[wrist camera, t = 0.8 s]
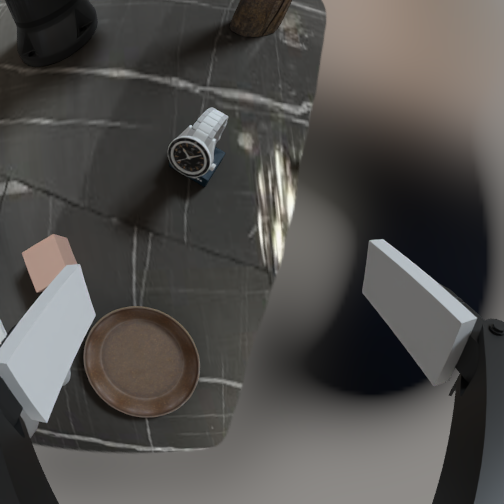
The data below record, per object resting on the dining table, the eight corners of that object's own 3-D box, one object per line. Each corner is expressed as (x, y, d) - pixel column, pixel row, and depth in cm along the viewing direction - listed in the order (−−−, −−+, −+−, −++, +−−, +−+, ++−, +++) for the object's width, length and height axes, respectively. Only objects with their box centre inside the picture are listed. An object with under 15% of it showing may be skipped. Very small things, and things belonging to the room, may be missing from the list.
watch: (161, 178, 36) (159, 145, 26) (193, 131, 38) (203, 88, 27) (197, 200, 38) (209, 174, 27) (228, 151, 39) (249, 114, 28)
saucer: (204, 312, 37) (206, 315, 35) (193, 414, 36) (195, 423, 33) (92, 295, 34) (86, 297, 31) (88, 399, 32) (84, 407, 30)
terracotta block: (38, 254, 32) (21, 252, 27) (67, 238, 33) (53, 233, 28) (51, 289, 32) (36, 292, 27) (81, 273, 33) (69, 274, 28)
